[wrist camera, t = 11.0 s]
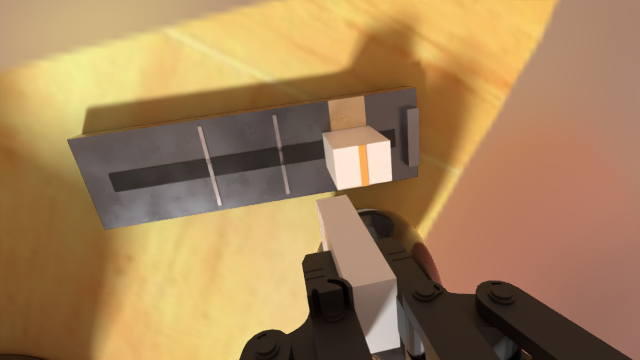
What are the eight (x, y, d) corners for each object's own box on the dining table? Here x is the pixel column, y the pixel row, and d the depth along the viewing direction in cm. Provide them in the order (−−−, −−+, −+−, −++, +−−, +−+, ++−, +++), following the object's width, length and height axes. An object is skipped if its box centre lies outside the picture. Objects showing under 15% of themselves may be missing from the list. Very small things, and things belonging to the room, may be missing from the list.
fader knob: (326, 166, 28) (338, 190, 23) (322, 132, 27) (333, 150, 22) (371, 159, 28) (392, 181, 23) (368, 125, 27) (390, 140, 22)
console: (115, 219, 30) (99, 235, 27) (81, 134, 27) (58, 142, 24) (409, 170, 32) (422, 180, 29) (407, 86, 29) (421, 88, 26)
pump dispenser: (307, 198, 31) (333, 311, 17) (410, 190, 32) (514, 290, 18) (311, 284, 35) (334, 437, 21) (403, 274, 36) (486, 413, 22)
